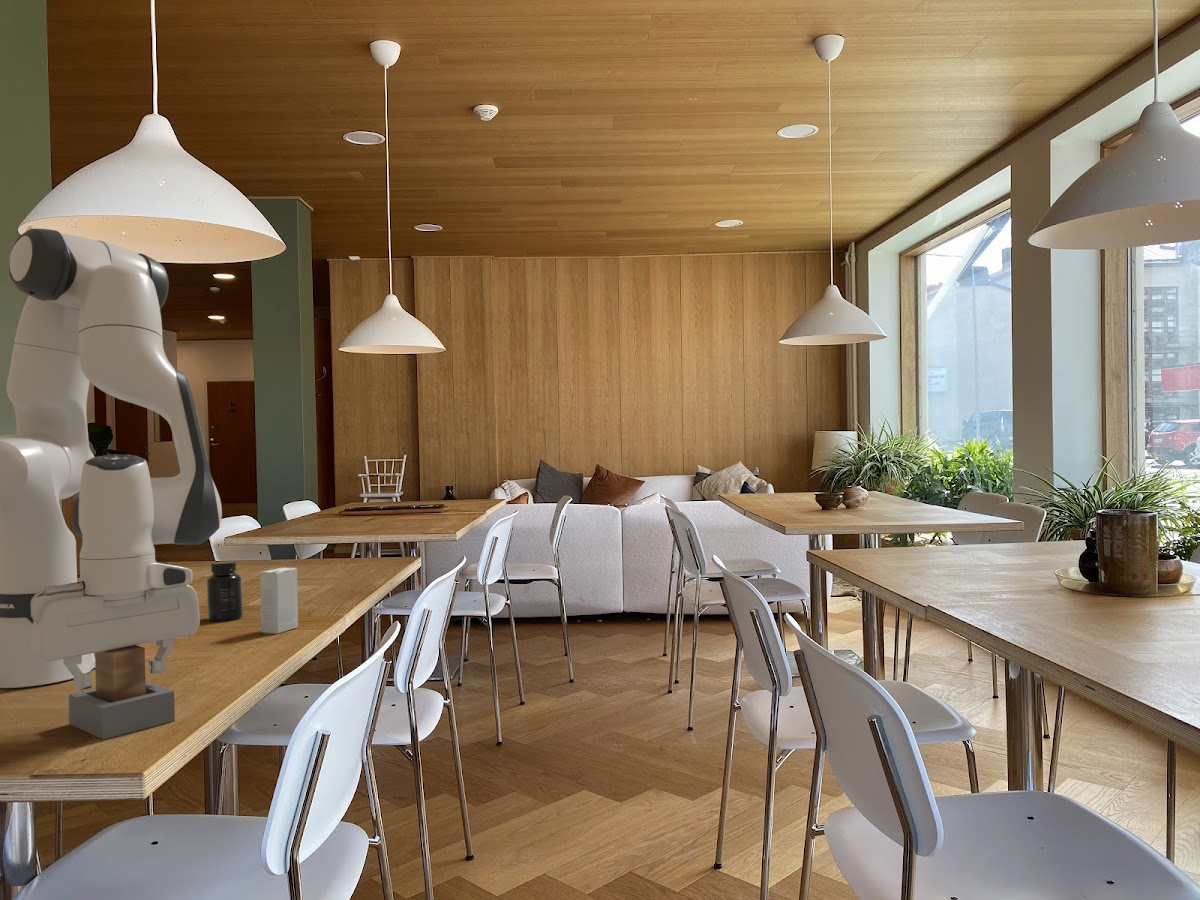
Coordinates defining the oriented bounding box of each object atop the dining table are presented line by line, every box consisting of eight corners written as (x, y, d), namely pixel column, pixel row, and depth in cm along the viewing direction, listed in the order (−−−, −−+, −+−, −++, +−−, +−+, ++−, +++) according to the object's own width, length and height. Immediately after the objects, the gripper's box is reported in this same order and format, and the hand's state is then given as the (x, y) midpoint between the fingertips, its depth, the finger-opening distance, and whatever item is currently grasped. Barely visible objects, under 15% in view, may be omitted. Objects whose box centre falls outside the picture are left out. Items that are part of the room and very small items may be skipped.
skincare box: (281, 626, 178) (280, 566, 178) (299, 628, 176) (298, 567, 176) (259, 633, 172) (258, 571, 172) (277, 634, 170) (276, 572, 170)
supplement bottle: (247, 615, 191) (246, 559, 191) (235, 621, 184) (234, 564, 184) (215, 615, 190) (214, 560, 190) (202, 622, 184) (200, 565, 183)
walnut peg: (114, 730, 114) (112, 653, 114) (96, 722, 118) (95, 648, 117) (146, 722, 117) (144, 647, 117) (128, 715, 121) (126, 642, 121)
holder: (69, 724, 117) (68, 694, 117) (139, 707, 124) (138, 678, 124) (103, 739, 111) (102, 707, 111) (174, 720, 118) (174, 691, 118)
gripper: (40, 590, 107) (43, 703, 107) (204, 569, 123) (206, 667, 123) (20, 585, 111) (23, 695, 111) (182, 565, 127) (184, 661, 127)
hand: (121, 680), depth 117 cm, fingers open, 8 cm apart
